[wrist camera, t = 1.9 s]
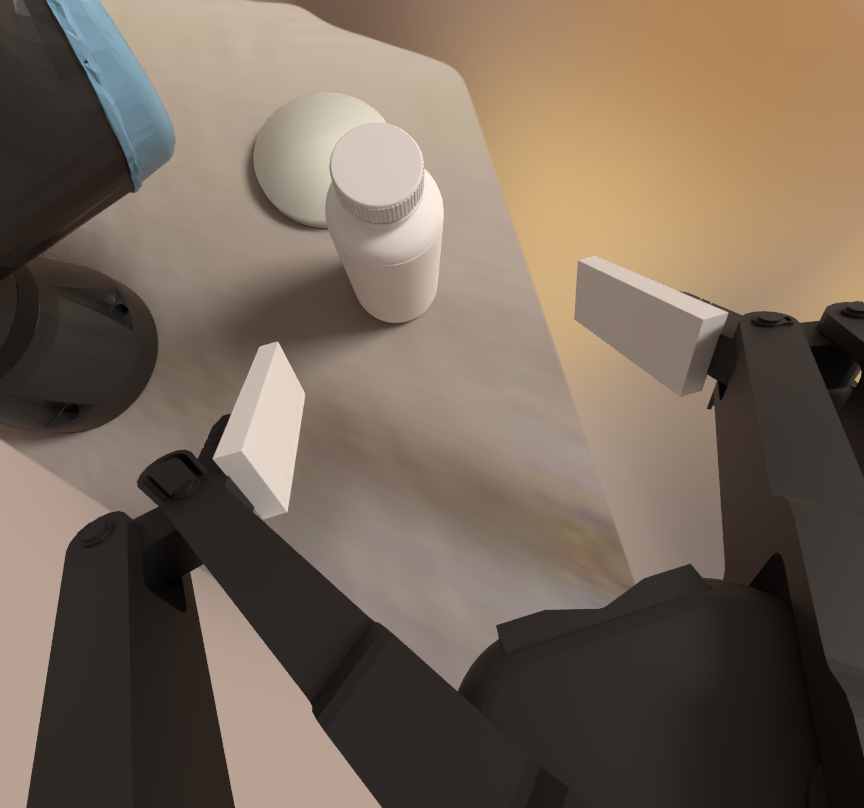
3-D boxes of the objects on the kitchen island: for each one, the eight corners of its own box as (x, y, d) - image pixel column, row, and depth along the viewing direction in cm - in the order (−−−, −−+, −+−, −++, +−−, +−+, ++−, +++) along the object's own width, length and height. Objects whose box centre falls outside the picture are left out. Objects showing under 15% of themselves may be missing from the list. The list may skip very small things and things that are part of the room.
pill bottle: (424, 335, 34) (423, 244, 19) (344, 312, 34) (281, 203, 19) (448, 261, 35) (464, 119, 20) (370, 238, 35) (329, 81, 20)
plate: (237, 202, 35) (230, 194, 34) (289, 87, 37) (285, 75, 36) (369, 246, 35) (367, 239, 34) (415, 127, 37) (415, 116, 35)
